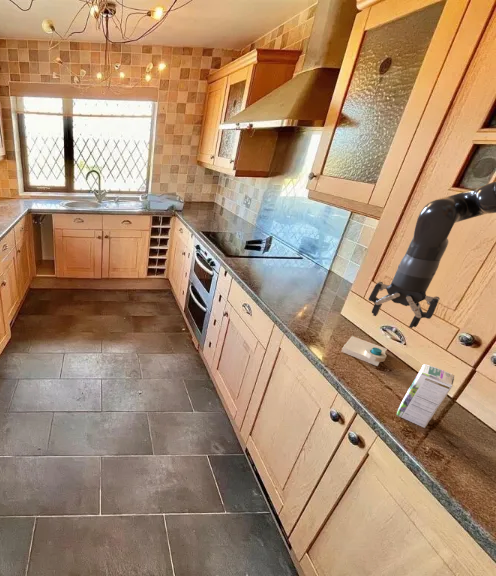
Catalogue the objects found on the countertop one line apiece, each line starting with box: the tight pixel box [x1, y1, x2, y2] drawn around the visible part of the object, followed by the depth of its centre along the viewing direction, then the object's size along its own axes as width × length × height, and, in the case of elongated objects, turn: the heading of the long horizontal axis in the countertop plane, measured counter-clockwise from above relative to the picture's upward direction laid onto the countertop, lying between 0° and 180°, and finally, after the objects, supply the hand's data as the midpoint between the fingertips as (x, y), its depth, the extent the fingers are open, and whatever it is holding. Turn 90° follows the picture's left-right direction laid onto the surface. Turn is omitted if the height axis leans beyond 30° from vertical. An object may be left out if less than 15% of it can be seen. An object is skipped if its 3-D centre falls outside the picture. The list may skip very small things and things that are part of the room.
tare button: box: [371, 347, 382, 356], centre depth 98 cm, size 2×2×2 cm
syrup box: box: [396, 363, 455, 429], centre depth 77 cm, size 6×6×14 cm
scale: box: [340, 335, 388, 367], centre depth 103 cm, size 11×11×4 cm
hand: (392, 320), depth 92 cm, fingers open, 8 cm apart
